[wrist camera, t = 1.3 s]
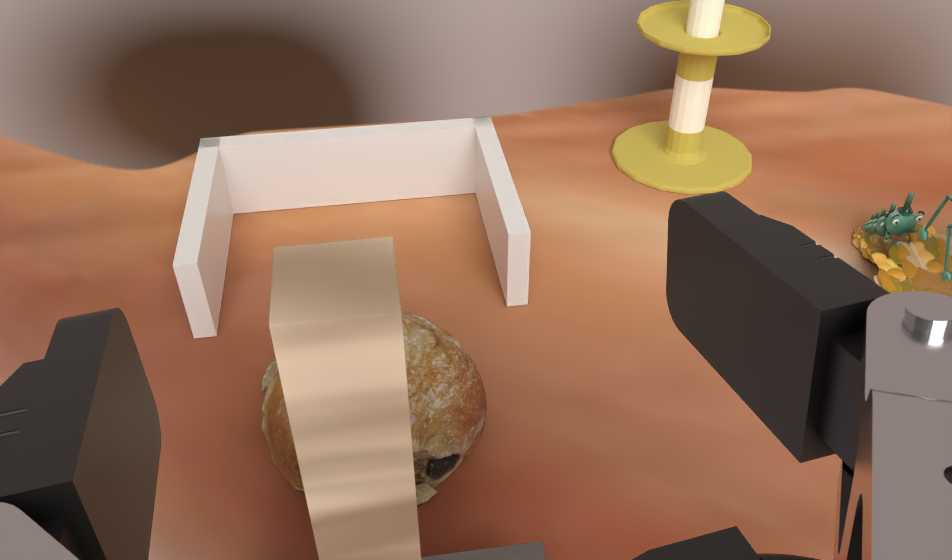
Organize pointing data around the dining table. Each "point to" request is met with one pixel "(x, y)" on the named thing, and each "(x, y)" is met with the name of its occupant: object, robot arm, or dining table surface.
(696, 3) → the candle
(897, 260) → the frog figurine
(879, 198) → the dining table surface
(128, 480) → the robot arm
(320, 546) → the scraper
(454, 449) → the bread roll
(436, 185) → the box
